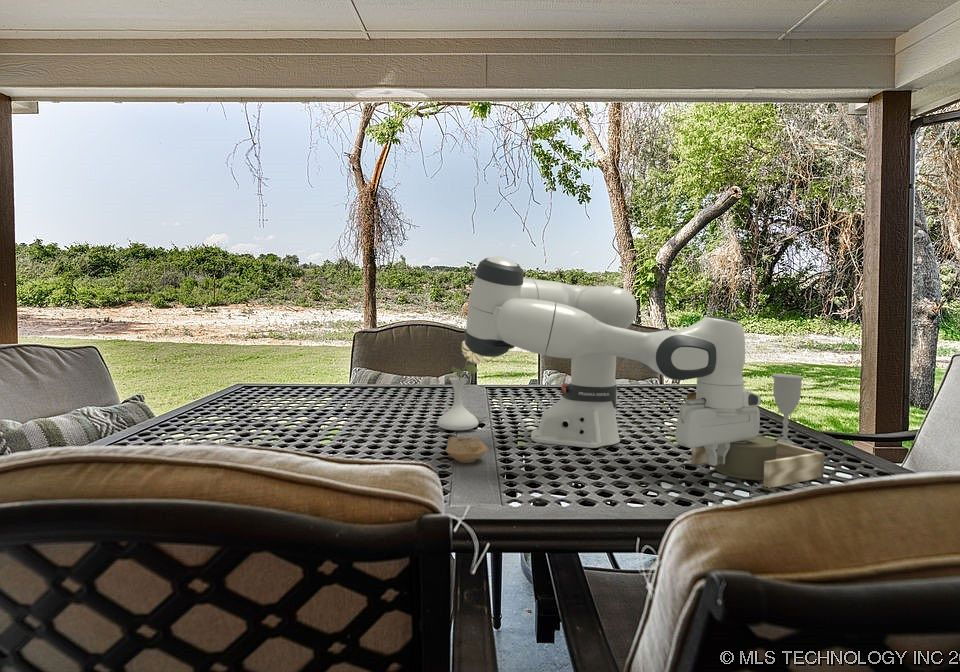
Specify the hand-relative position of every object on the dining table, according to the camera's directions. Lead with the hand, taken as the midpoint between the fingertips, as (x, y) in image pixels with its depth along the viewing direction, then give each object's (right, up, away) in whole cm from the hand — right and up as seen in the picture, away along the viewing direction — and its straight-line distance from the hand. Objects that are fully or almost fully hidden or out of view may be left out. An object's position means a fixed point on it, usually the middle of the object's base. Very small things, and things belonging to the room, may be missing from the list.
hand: (716, 464), depth 122 cm
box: (+10, -2, +6) cm, 12 cm away
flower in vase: (-53, +1, +42) cm, 68 cm away
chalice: (+26, -2, +24) cm, 35 cm away
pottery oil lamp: (-51, -1, +11) cm, 53 cm away
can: (+8, -3, +4) cm, 9 cm away
